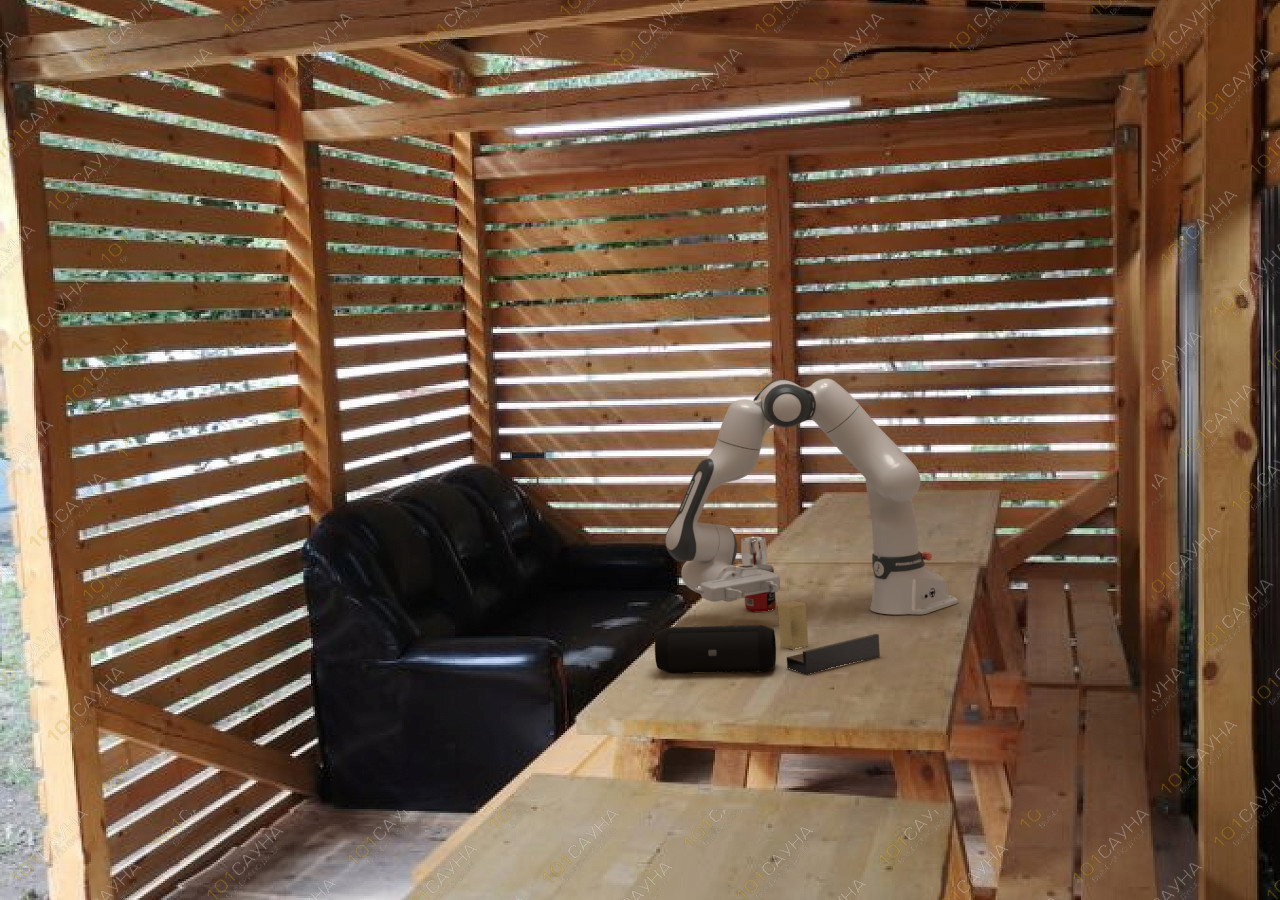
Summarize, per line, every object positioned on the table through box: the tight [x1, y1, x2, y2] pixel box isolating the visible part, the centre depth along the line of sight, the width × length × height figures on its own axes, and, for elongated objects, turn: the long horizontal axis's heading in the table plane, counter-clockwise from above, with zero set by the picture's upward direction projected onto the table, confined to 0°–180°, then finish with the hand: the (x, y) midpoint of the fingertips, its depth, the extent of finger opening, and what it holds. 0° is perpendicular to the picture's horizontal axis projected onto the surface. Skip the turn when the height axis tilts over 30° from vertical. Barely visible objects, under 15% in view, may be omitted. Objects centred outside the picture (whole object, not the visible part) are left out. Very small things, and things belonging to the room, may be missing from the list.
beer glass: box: [740, 536, 768, 566], centre depth 366 cm, size 7×7×15 cm
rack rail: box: [786, 633, 881, 676], centre depth 294 cm, size 7×20×5 cm, turn 120°
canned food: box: [744, 564, 777, 612], centre depth 348 cm, size 8×8×11 cm
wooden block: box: [777, 600, 809, 649], centre depth 309 cm, size 4×4×10 cm
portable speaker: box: [654, 624, 777, 674], centre depth 294 cm, size 26×10×10 cm, turn 79°
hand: (759, 591), depth 319 cm, fingers open, 8 cm apart
